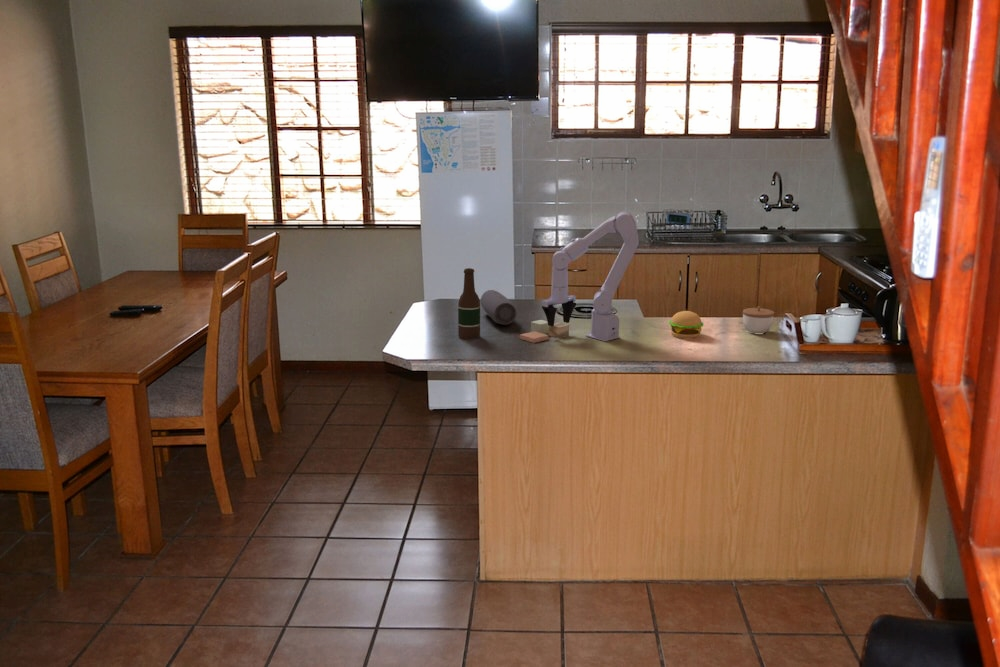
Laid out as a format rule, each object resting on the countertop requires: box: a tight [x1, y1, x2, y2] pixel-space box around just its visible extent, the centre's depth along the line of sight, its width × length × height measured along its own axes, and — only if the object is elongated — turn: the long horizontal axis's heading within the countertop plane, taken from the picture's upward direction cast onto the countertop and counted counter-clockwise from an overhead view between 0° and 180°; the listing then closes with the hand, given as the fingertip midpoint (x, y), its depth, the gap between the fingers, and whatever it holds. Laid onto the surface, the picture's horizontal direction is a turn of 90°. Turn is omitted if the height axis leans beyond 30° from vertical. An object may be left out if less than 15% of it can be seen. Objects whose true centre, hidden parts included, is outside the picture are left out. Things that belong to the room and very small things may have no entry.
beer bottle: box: [457, 267, 481, 340], centre depth 308 cm, size 8×8×24 cm
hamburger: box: [668, 310, 704, 339], centre depth 313 cm, size 12×12×9 cm
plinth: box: [519, 331, 549, 344], centre depth 308 cm, size 7×7×2 cm
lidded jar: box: [742, 306, 775, 334], centre depth 318 cm, size 11×11×9 cm
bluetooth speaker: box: [480, 289, 517, 326], centre depth 333 cm, size 23×9×10 cm, turn 14°
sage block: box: [530, 319, 549, 335], centre depth 317 cm, size 5×5×4 cm
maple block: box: [548, 322, 570, 339], centre depth 313 cm, size 5×5×4 cm
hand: (558, 324), depth 312 cm, fingers open, 7 cm apart
